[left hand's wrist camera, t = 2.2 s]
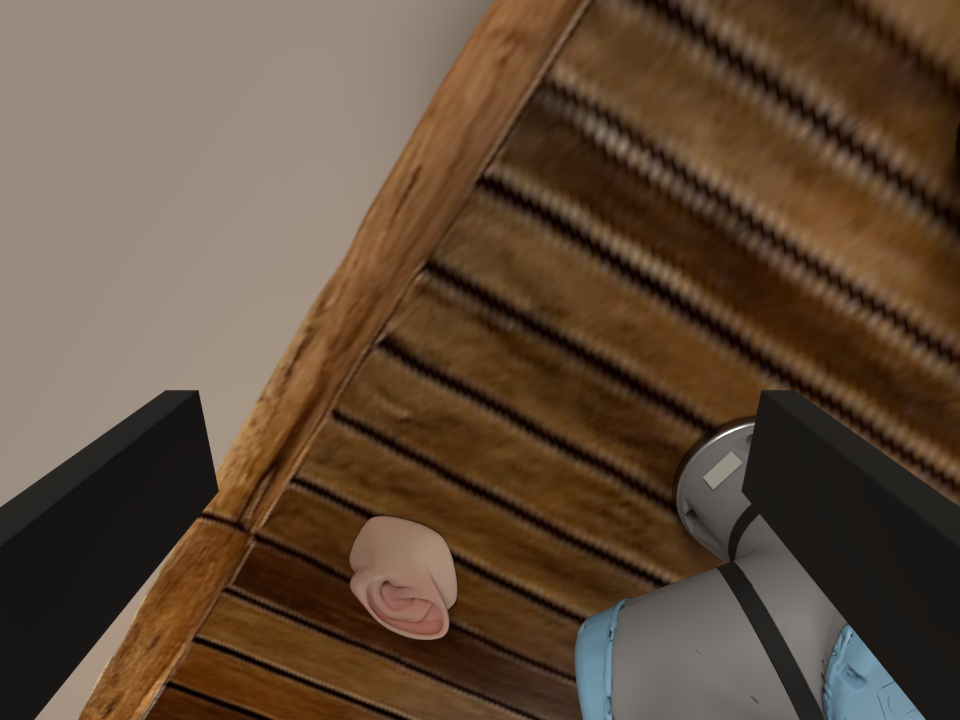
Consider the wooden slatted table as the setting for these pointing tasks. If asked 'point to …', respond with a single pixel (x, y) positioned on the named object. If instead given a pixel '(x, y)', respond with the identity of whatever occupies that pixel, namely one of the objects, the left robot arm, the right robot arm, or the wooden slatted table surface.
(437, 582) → the anatomical model
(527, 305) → the wooden slatted table surface
